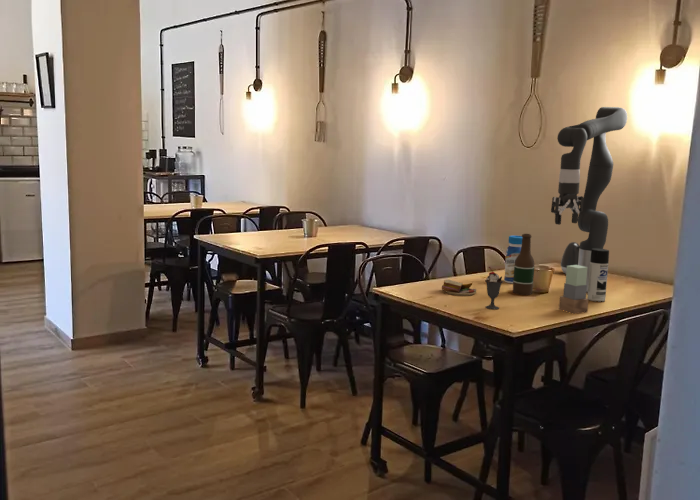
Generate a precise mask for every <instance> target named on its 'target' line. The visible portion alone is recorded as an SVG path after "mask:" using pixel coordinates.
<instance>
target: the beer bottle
mask: <svg viewBox="0 0 700 500" xmlns="http://www.w3.org/2000/svg"><path fill="white" fill-rule="evenodd" d="M521 236H522V244H521V251H520V254H519V255H518V257H517V258H516V260H515V265H514V278H513V283H512V293H514V294H516V295H520V296H521V295H522V296H530V295H532V294H533V289H534V276H535V259H534V257H533V255H532V253H531V243H532V242H531V239H532V234H531V233H523V234H521Z"/></svg>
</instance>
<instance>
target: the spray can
mask: <svg viewBox="0 0 700 500" xmlns="http://www.w3.org/2000/svg"><path fill="white" fill-rule="evenodd" d="M609 258H610V250H609V249H606V248H603V249H599V248H595V249H592V250H591V259H590V271H589V284H588V292H587V295H586V299H589V300H588V301H592V302H596V301H598V303H600V302H601V301H602V302H605V301H606V296H607V294H606V293H607V285H608V273H609Z"/></svg>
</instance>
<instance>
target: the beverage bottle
mask: <svg viewBox="0 0 700 500" xmlns="http://www.w3.org/2000/svg"><path fill="white" fill-rule="evenodd" d="M508 244H509V245H508V247H507V248H506V250H505V252H506V255H505V257H504V259H505V265H504V266H505V267H504V278H503V282H505V283H508V284H513V278H514V265H515V260H516V258H517V257H518V255H519V254H520V251H521V244H522V235H509V236H508Z"/></svg>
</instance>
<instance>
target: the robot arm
mask: <svg viewBox="0 0 700 500" xmlns="http://www.w3.org/2000/svg"><path fill="white" fill-rule="evenodd" d="M627 121H628V113H627V110H626V109H625V108H623V107H618V106H601V107H599V109H598V110H597V112H596V115H595V118H592V119H588V120H585V121H583V122H580V123H579V124H576V125H575V124H574V125H570V126H566V127H562V128H561V130H560V131H558V133H557V143H558V144H559V145H560V146H562V147H566V148H568V147H569V148H570V147H571V148H572V150H571V151H570V152H567V153H563V154H562V155H561V157H560V170H559V175H558V187H557V189H558V190H557V193H558V194H559V196H558V197H557V196H552V199H551V200H552V201H551V209H550V213H552V214H554V223H555V225H561V224H562V213H563V212H564V211H565V210H566V209H569V210H571V223H572V224H577V226H578V228H579V230H580V231H581V232H584V233H585V232H586V233H588V236H587V237H588V238H587V239H585V240H582V241H580V243H579V246H580V248H579V260H578V265H579V266H584V267H587V278H586V285H587V291H586V293H588V284H589V271H590V259H591V250H592V249H595V248H599V249H604V246H605V244H606V243H607V237H608V236H607V235H608V229H609V218H608V215H607V214H606V213H605V212H604V211H599V210H597V205H598V202H599V199H600V197H601V195H602V194H603V193H604V191H605V189H606V188H607V186H609V184H610V182H611V180H612V174H613V169H614V159H613V158H612V155H611V153H610V150H609V148H608V145H607V142H606V137H607V136H606V133H609V132H613V131H614V132H615V131H620V130H622V129H624V128H625V126H626V125H627ZM591 139H592V142H593V143H592V148H591V149H592V150H591V155H590V160H589V163H588V164H589V165H588V171H587V175H586V177H587V179H586V184H585V188H584V194H583V195H581V196H580V195H578V194H579V193H580V183H581V160H582V157H583V154H584V153H583V152H584V150H585V147H586V144H587V141H590V140H591Z"/></svg>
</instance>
